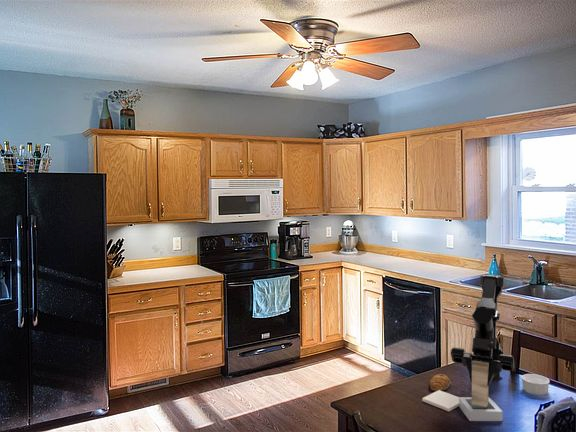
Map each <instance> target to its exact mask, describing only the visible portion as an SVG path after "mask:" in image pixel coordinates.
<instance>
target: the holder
mask: <svg viewBox="0 0 576 432" xmlns="http://www.w3.org/2000/svg"><path fill="white" fill-rule="evenodd" d="M458 397H459V406H458V407H459V409H460V410H461V411H462V412H463V414H464V415H465V416H466V418H467V419H468V420H469V421H470V422H503V421H504V420H503V418H504V411H503V410H502V409H501V408H500V407H499V406H498V405H497V404H496V402H495V401H494V400H492V398H490V397H489V396H488V405H487V407H484V406H479V405H474V404H472V396H470V397H469V396H467V397H466V396H462V397H461V396H458Z"/></svg>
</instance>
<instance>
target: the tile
mask: <svg viewBox="0 0 576 432" xmlns="http://www.w3.org/2000/svg"><path fill="white" fill-rule="evenodd" d="M459 397H460V396H456V395H454V394H451V393H449V392H446V391H444V390H443V391H440V390H438V391H434V392H432V393H430V394H428V395H426V396H424V397H422V400H421V402H424V403H426V404H429V405H432V406H433V407H436V408H438V409H442V410H443V411H447V412H451V411H452V410H453V411H454V409H456V408H458V407H459Z"/></svg>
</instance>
